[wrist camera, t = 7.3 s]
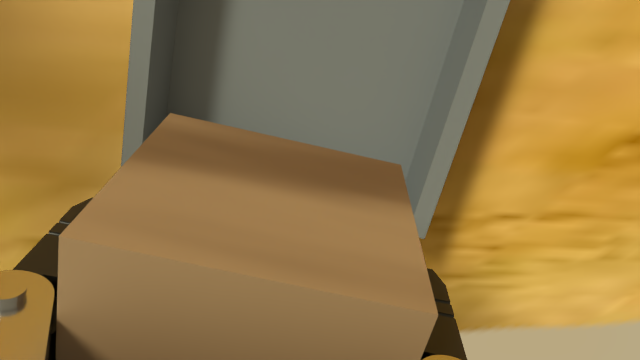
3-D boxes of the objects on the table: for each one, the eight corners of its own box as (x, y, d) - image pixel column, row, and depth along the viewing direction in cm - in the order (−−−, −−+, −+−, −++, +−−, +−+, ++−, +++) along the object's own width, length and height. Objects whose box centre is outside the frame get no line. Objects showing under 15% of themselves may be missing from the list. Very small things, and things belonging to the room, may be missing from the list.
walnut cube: (169, 112, 11) (58, 236, 7) (400, 164, 12) (438, 315, 7) (148, 301, 14) (51, 489, 9) (344, 340, 14) (346, 542, 9)
